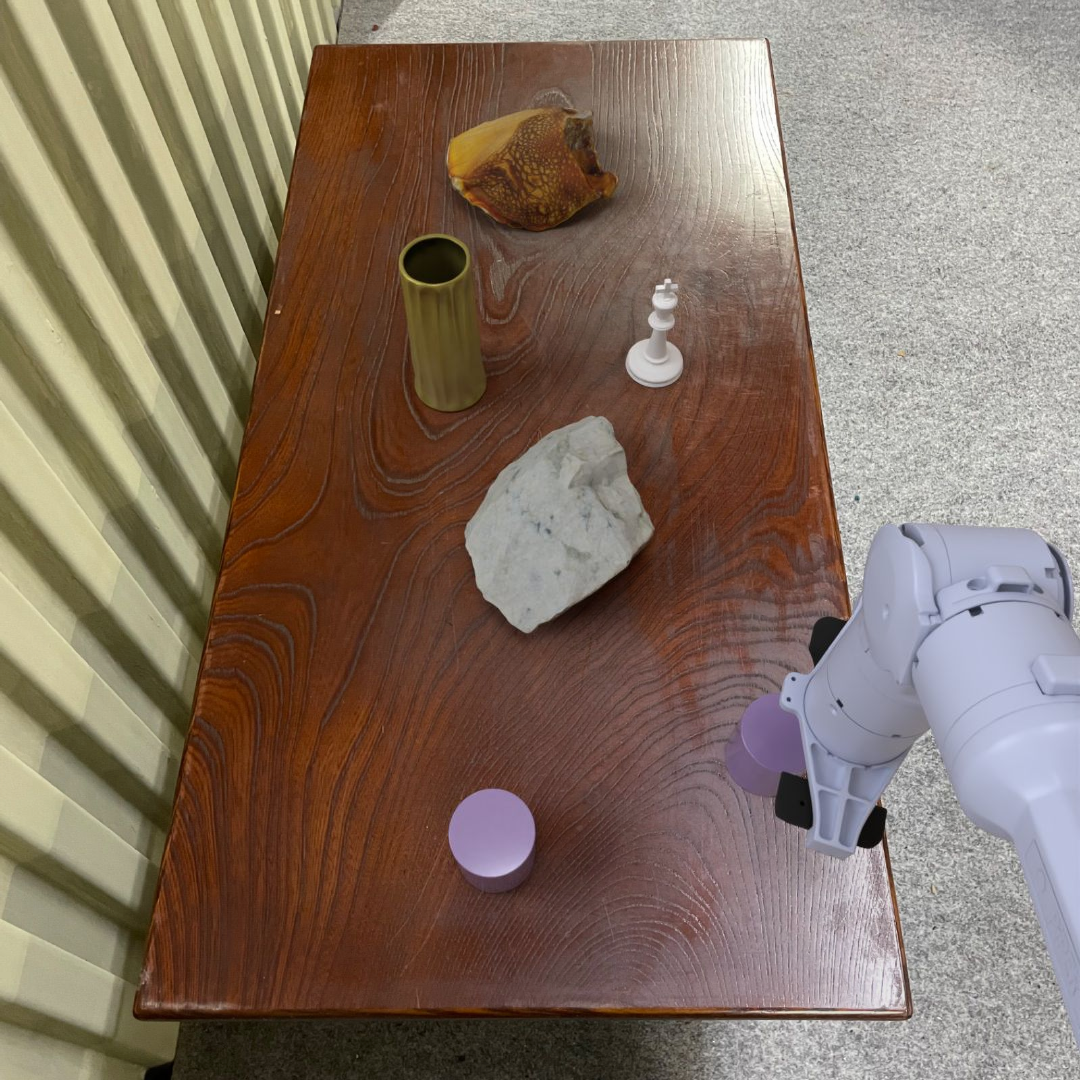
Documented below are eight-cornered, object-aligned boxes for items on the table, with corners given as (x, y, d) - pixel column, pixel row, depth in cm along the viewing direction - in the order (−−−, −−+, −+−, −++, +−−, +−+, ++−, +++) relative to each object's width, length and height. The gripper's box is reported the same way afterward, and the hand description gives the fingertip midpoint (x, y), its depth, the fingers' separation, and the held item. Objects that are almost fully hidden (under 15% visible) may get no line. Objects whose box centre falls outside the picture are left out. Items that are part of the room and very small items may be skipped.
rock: (416, 515, 74) (403, 458, 67) (581, 423, 78) (586, 361, 71) (523, 667, 67) (521, 622, 60) (696, 558, 72) (713, 505, 65)
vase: (475, 348, 82) (463, 220, 69) (496, 402, 79) (487, 279, 66) (407, 366, 81) (382, 239, 68) (425, 421, 78) (403, 299, 65)
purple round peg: (788, 809, 63) (810, 787, 57) (714, 777, 64) (729, 752, 58) (810, 739, 65) (834, 712, 60) (738, 710, 66) (755, 680, 61)
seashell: (428, 193, 85) (450, 65, 90) (447, 246, 92) (467, 125, 97) (612, 191, 82) (624, 59, 87) (617, 246, 89) (629, 121, 94)
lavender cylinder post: (515, 907, 60) (513, 892, 54) (442, 872, 61) (433, 854, 55) (548, 830, 62) (549, 809, 57) (477, 798, 63) (472, 774, 58)
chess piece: (621, 345, 82) (631, 260, 73) (677, 340, 82) (693, 255, 73) (630, 390, 79) (641, 307, 71) (687, 385, 80) (706, 302, 71)
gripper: (831, 532, 49) (774, 636, 61) (772, 797, 42) (721, 855, 54) (969, 571, 48) (883, 669, 60) (931, 849, 41) (843, 898, 53)
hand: (814, 760), depth 57 cm, fingers open, 7 cm apart
